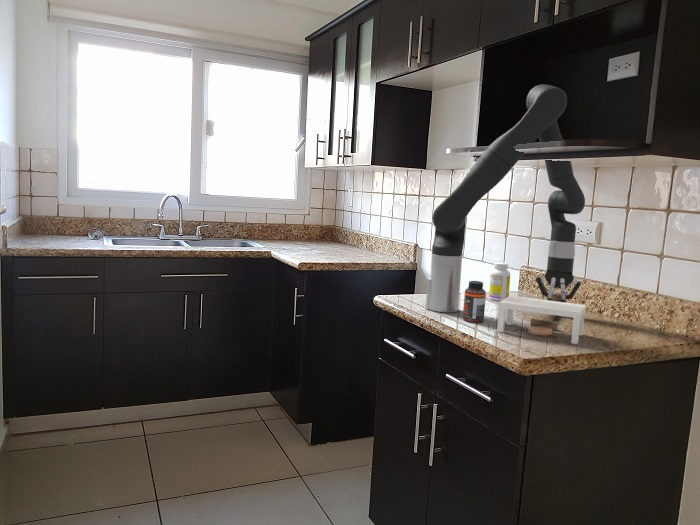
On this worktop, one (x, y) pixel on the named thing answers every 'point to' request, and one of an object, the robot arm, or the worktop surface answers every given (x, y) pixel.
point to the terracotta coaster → (540, 330)
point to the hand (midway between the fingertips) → (555, 310)
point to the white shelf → (542, 307)
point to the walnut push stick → (548, 316)
